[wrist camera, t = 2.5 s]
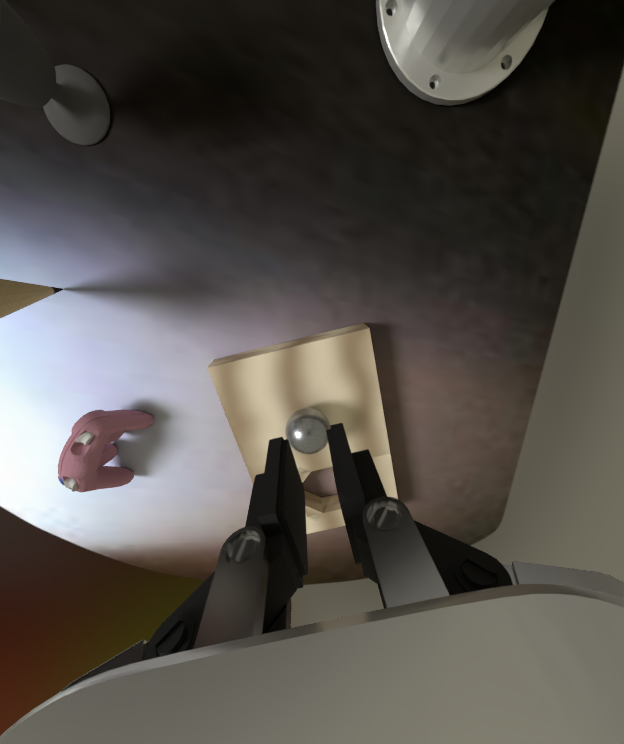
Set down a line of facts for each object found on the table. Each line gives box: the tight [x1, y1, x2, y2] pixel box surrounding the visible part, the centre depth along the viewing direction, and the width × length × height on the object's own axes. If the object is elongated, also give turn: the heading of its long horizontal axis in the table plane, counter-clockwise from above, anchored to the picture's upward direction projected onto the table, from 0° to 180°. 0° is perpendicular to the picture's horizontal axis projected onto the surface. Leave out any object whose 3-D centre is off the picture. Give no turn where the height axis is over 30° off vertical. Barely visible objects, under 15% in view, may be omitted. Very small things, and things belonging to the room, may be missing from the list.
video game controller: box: [58, 410, 154, 492], centre depth 30 cm, size 10×5×7 cm, turn 153°
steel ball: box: [285, 408, 331, 455], centre depth 28 cm, size 4×4×4 cm
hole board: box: [207, 323, 398, 534], centre depth 33 cm, size 16×24×2 cm, turn 13°
